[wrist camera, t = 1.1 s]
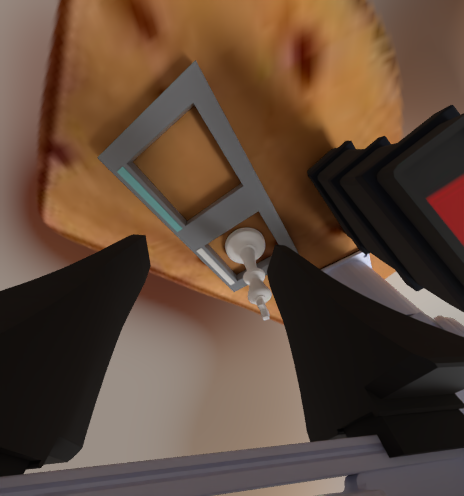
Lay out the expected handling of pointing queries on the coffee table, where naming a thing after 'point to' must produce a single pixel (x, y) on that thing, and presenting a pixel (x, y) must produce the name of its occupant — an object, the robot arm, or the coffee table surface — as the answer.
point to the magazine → (405, 202)
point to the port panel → (221, 211)
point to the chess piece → (250, 264)
